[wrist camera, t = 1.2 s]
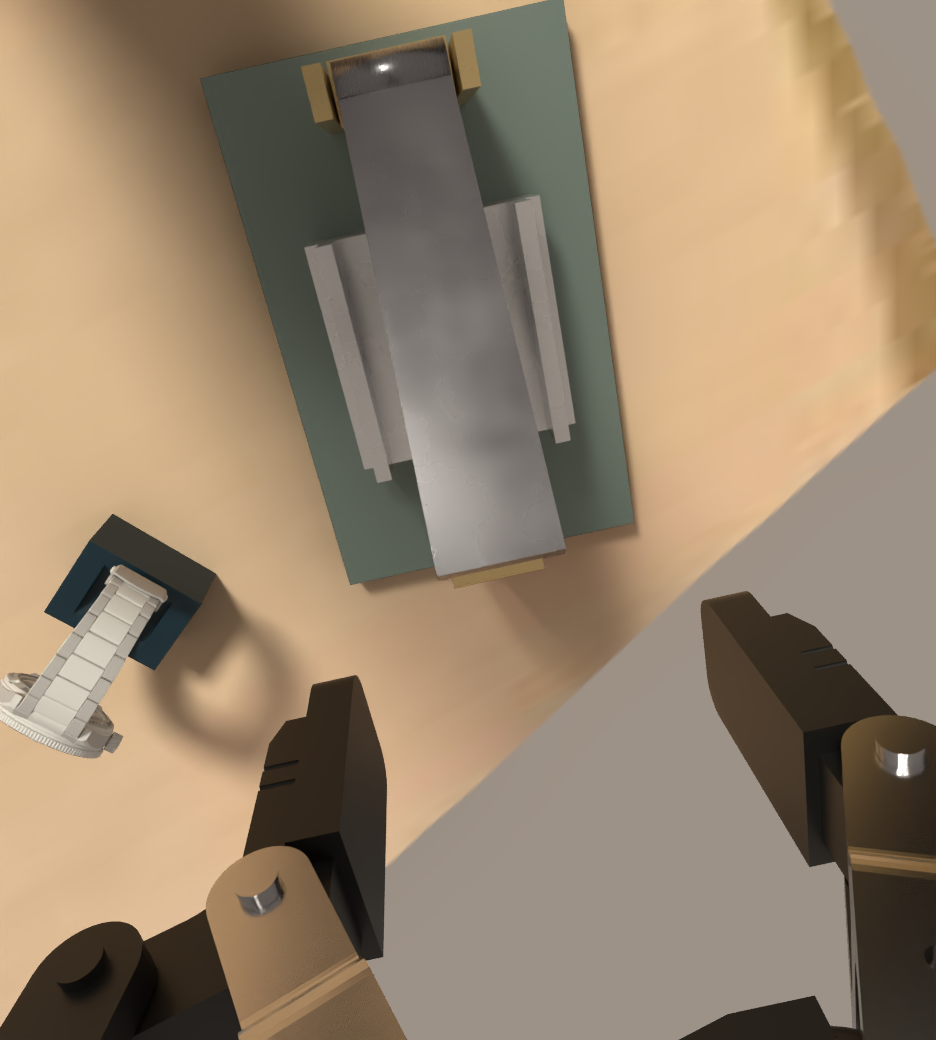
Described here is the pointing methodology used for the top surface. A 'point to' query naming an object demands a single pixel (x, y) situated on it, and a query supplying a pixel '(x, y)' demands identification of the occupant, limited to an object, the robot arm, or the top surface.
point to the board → (336, 211)
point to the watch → (104, 636)
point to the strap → (445, 314)
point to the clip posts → (331, 121)
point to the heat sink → (364, 340)
